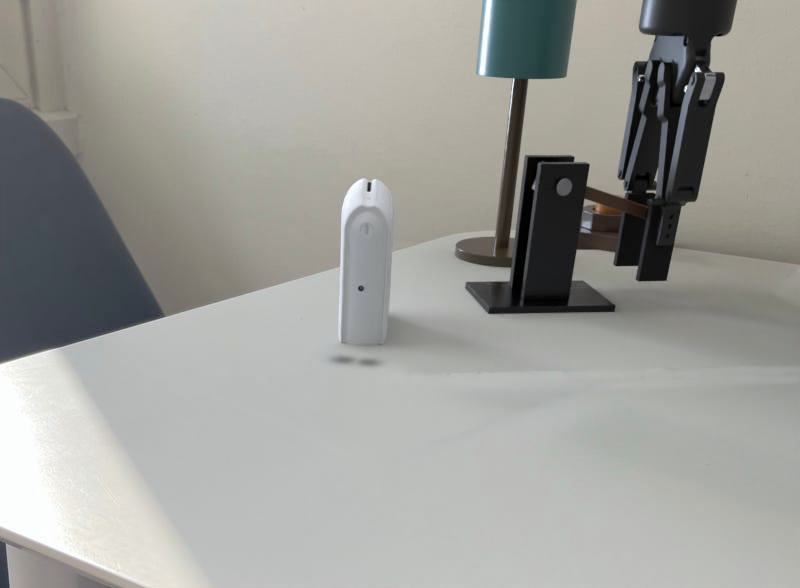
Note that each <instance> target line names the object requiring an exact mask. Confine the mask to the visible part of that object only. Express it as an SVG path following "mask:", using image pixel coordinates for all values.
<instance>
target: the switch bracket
mask: <svg viewBox="0 0 800 588" xmlns="http://www.w3.org/2000/svg"><path fill="white" fill-rule="evenodd" d="M541 161H544V162H541ZM590 167H591V164H590V163H589V162H586V161H575V156H573V155H571V154H570V155H569V154H525V155H524V159H523V167H522V175H521V184H520V192H519V200H518V209H517V216H516V217H517V218H516V224H515V227H516V228H515V233H514V238H515V241H514V249H513V257H512V266H511V267H510V274H509V280H508V281H507V280H505V281H504V280H501V281H497V280H496V281H494V280H493V281H465V286H464V288H465V290H466V291H467V292H468V293H469V294H470V295H471V296H472V297H473V299H474V300H475V301H476V302H477V303H478V305H480V306H481V307H482V308H483V310H484V311H485V312H486V313H487V314H489V315H499V314H500V315H504V314H507V315H508V314H510V315H511V314H559V313H560V314H563V313H565V314H566V313H567V314H569V313H571V314H573V313H615V312H616V304H615V303H614V302H612V301H611V300H610V299H608V298H606V297H605V296H604V295H603V294H601V293H600V292H599V291H598V290H596V289H595V288H594V287H592V286H591V285H590V284H589V283H587V282H585V280H583V279H581V280H579V279H577V280H575V279H573V277H574V271H575V270H574V269H575V263H576V256H577V251H578V250H577V244H578V238H579V231H580V225H581V218H582V212H583V207H584V205H585V200H586V199H585V193H586V186H588V178H589V172H590ZM536 174H537V175H536ZM535 177H536V183H535V190H533V189H532V188H531V187H532V185H533V182H534V180H535Z"/></svg>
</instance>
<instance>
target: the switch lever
mask: <svg viewBox="0 0 800 588" xmlns="http://www.w3.org/2000/svg"><path fill="white" fill-rule="evenodd" d="M541 162H544V161H541ZM536 175H537V174H536ZM535 183H536V177H535V180H534V182H533V185H532V187H531V188H532V189H533V190H535ZM616 195H617V194H613V193H609V192H608V191H607V192H606V191H604V190H601V189H598V188H596V187H592V186H589V185H587V186H586V193H585V199H584V200H587V201H590V202H593V203H595V204H596V203H599V204H602V205H605V206H608V207H611V208H614V209H617V210H620V211H623V212H626V213H628V214H631V215H634V216H637V217H640V218H643V219H645V220H647V215H648V209H649V206H648V205H647V204H645V203H643V202H638V203H636V202H633V201H630V200H627V199H624V198H621V197H618V196H616Z"/></svg>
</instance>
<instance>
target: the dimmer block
mask: <svg viewBox="0 0 800 588" xmlns="http://www.w3.org/2000/svg"><path fill="white" fill-rule="evenodd" d="M595 206H596V204H588V205H585V206H583V212H582V218H581V225H580V231H579V238H578V244H577V251H593V250H594V251H598V250H599V251H605V252H611V253H615V251H616V245H617V239H618V234H619V228H620V222H621V216H622V213H621V214H613V213H602V212H597V211H595Z"/></svg>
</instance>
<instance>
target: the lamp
mask: <svg viewBox="0 0 800 588" xmlns="http://www.w3.org/2000/svg"><path fill="white" fill-rule="evenodd" d="M577 2H578V0H482V2H481V14H480V25H479V34H478V45H477V46H478V47H477V58H476V67H475V74H476V75H478V76H482V77H489V78H499V79H511V89H510V97H509V105H508V115H507V124H506V132H505V144H504V151H503V160H502V170H501V178H500V179H501V180H500V189H499V197H498V206H497V216H496V225H495V233H494V236H478V237H477V236H476V237H470V238H469V237H468V238H463V239H461V240H459V241H457V242H456V243H455V246H454V247H455V248H454V256H455V257H456V258H457V259H458V260H461V261H463V262H466V263H470V264H474V265H480V266H486V267H495V268H511V266H512V257H513V249H514V241H515V237H511V232H512V231H511V230H512V222H513V216H514V215H513V214H514V206H515V197H516V190H517V189H516V187H517V181H518V171H519V164H520V163H519V162H520V156H521V155H520V154H521V146H522V139H523V138H522V137H523V131H524V130H523V129H524V120H525V113H526V112H525V111H526V104H527V95H528V86H529V80H555V79H557V80H558V79H565V78H567V77H568V69H569V63H570V62H569V61H570V54H571V47H572V39H573V34H574V33H573V31H574V27H575V26H574V25H575V18H576V11H577Z"/></svg>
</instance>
